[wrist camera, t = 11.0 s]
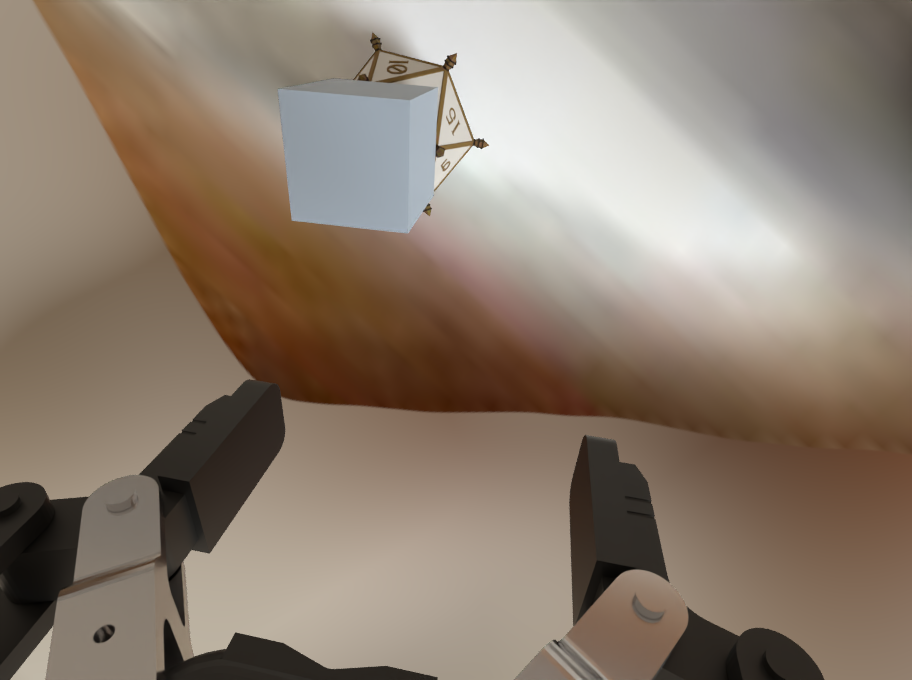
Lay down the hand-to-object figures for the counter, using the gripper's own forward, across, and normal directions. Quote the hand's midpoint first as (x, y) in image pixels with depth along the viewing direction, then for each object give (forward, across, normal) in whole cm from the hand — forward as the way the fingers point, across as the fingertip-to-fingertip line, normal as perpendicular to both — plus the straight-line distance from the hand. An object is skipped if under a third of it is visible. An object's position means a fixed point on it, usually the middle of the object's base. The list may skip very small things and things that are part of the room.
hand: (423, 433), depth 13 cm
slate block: (+16, +6, -4) cm, 17 cm away
